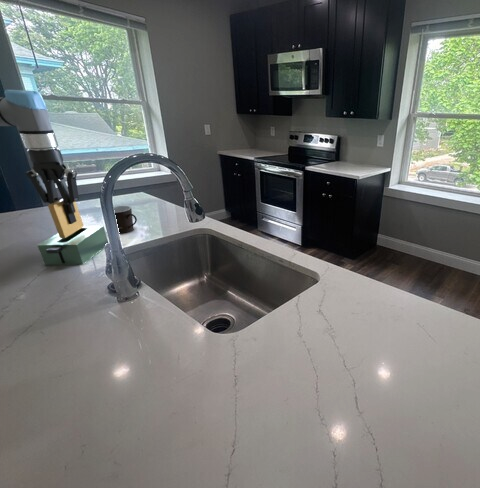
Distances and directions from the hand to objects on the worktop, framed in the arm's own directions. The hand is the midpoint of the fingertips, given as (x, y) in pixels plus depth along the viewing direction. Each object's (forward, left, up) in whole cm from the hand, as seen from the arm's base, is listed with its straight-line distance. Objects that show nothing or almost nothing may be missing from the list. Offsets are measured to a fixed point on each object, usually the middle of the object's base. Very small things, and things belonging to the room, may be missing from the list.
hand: (69, 222), depth 98 cm
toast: (0, 0, -3) cm, 3 cm away
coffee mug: (+6, +20, -13) cm, 24 cm away
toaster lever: (0, -10, -6) cm, 11 cm away
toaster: (0, 0, -12) cm, 12 cm away
